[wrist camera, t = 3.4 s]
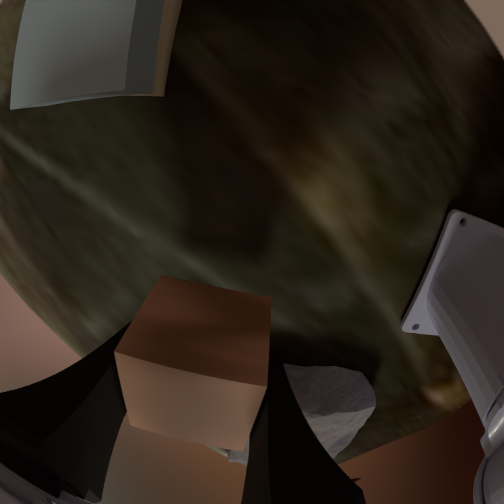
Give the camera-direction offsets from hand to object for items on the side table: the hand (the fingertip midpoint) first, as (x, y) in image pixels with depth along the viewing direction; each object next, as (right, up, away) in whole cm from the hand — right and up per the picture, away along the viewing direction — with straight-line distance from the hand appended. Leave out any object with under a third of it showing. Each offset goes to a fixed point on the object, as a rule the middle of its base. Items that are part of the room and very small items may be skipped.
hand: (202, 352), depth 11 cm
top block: (-5, +13, -2) cm, 14 cm away
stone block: (+6, -8, +10) cm, 15 cm away
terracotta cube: (0, +1, +1) cm, 2 cm away
